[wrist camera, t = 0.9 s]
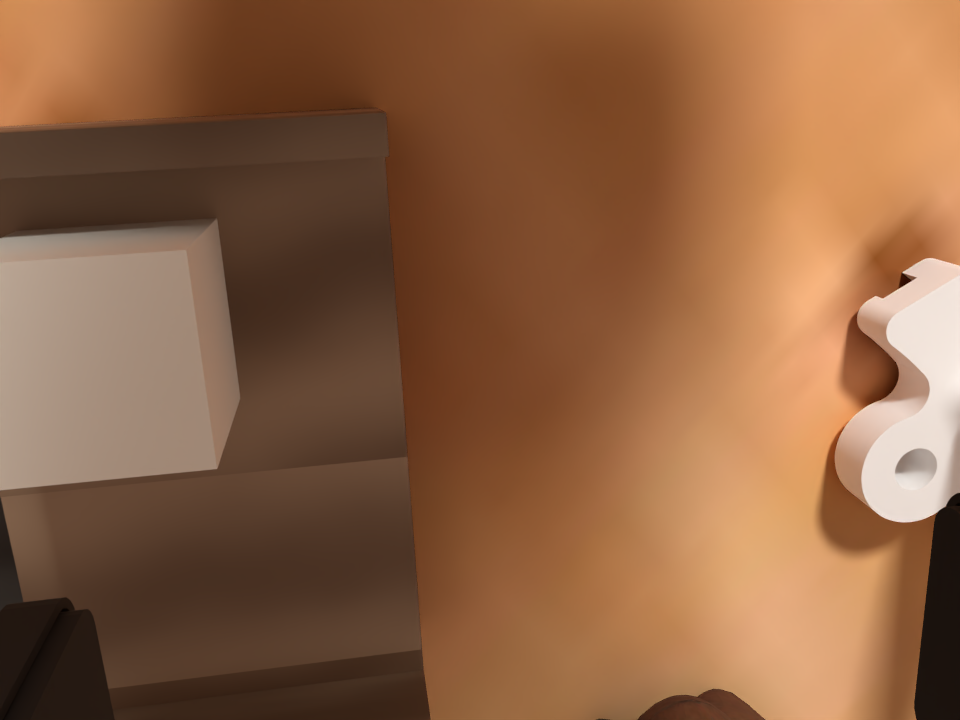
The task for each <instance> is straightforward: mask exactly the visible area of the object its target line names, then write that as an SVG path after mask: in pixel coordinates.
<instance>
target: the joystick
mask: <svg viewBox="0 0 960 720" xmlns="http://www.w3.org/2000/svg"><path fill="white" fill-rule="evenodd" d="M902 273H903V274H904V275H905V276H907V277H908V278H909V279H910V280H911V282H909V283H908V284H906V285H904V286H903V287H901V288H899V289H898V290H896V291H895V292H893V293H891V294H890V295H888V296H886V297H885V298H883V299H882V298H880V297H877V296H874V297H873V298H871V299H870V300H868V301H866V302H865V303H864V304H863V305H862V306H861V308H860V310H859V312H858V315H857V324H858V326H859V328H860V330H861V331H862V332H863V333H865V334H866V335H867V336H869V337H870V338H871V339H872V340H873V341H875V342H876V343H877V344H878V345H879V346H880V347H881V348H882V349H884V350H885V351H886V352H887V353H888V354H889V355H890V356H891V357H892V358H893V359H894V361H895V362H896V364H897V366H898V369H899V378H898V382H897V385H896V387H895V388H894V390H893V391H892V392H891V393H890V394H889V395H888V396H887V397H885V398H884V399H882V400H879V401H877V402H874V403H872V404H870V405H868V406H866V407H865V408H863V409H862V410H860V411H859V412H858V413H857V414H856V415H855V416H854V417H853V418H852V419H851V420H850V421H849V422H848V424H847V425H846V426H845V428H844V429H843V431H842V433H841V435H840V437H839V439H838V442H837V446H836V450H835V468H836V472H837V475H838V477H839V479H840V481H841V483H842V484H843V486H844V487H845V488H846V489H847V490H848V491H849V492H851V493H852V494H853V495H854V496H856V497H857V498H858V499H860V500H861V501H862V502H863V503H865V504H866V505H867V506H868V507H870V508H871V509H872V510H873V511H875V512H876V513H877V514H879V515H880V516H882V517H884V518H886V519H888V520H891V521H895V522H914V521H918V520H922V519H925V518H927V517H930V516H932V515H934V514H935V513H937V512H939V510H940V509H942V508H944V507H945V506H946V504H947V503H948V501H949V499H950V498H951V497H952V496H953V495H955V494H956V493H960V266H958V265H955V264H951V263H948V262H944V261H941V260H937V259H933V258H928V259H924V260H922V261H920V262H918V263H917V264H915V265H914V266H912V267H910V268H909V269H907V270H905V271H904V272H902Z"/></svg>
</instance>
